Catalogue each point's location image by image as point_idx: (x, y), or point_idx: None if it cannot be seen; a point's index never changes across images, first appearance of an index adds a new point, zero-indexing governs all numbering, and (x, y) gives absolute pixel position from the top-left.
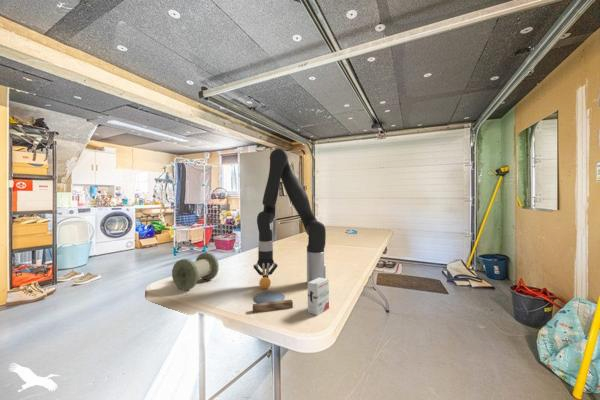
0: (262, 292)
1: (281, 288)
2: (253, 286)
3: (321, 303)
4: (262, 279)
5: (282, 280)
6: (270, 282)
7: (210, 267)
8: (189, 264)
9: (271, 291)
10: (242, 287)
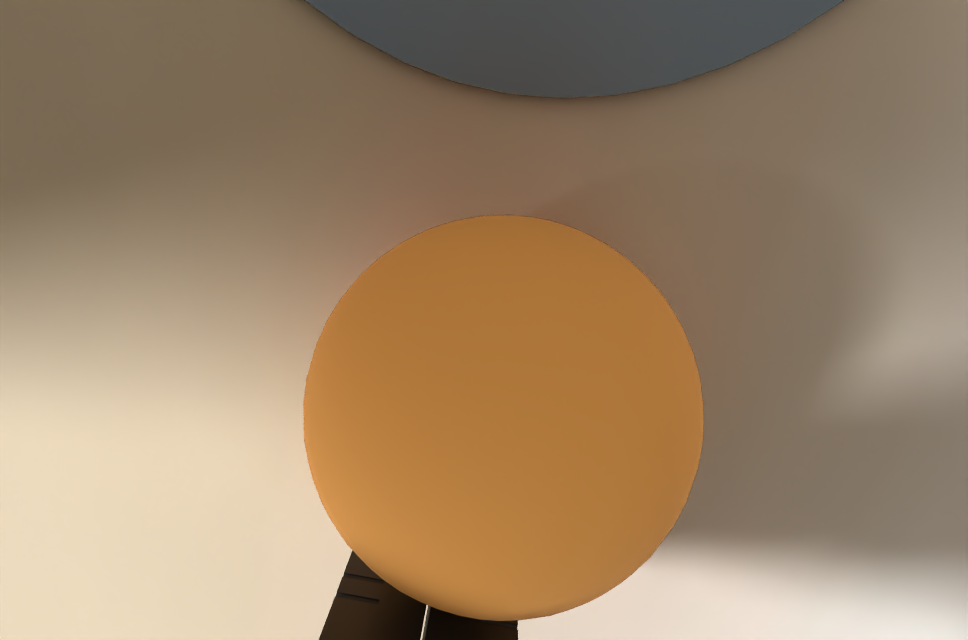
0: (661, 68)
1: (88, 170)
2: (714, 563)
3: None
4: (643, 430)
5: (12, 620)
6: (324, 329)
7: None
8: None
9: (398, 31)
10: (957, 604)
